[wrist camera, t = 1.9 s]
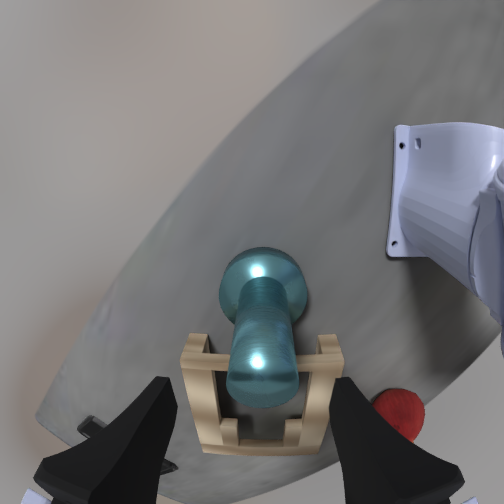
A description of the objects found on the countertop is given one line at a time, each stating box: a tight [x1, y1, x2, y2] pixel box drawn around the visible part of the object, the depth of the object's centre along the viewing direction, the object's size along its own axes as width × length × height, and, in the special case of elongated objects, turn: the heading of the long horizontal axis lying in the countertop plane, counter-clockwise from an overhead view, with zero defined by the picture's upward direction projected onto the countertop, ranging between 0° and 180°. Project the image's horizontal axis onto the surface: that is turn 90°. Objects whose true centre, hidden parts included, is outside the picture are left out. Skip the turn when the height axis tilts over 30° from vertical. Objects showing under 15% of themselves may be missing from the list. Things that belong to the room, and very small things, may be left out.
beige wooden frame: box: [180, 333, 345, 456], centre depth 23 cm, size 14×12×4 cm
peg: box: [219, 247, 307, 408], centre depth 16 cm, size 6×6×10 cm
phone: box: [77, 415, 176, 475], centre depth 31 cm, size 8×1×15 cm
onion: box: [372, 389, 425, 443], centre depth 21 cm, size 6×6×8 cm
